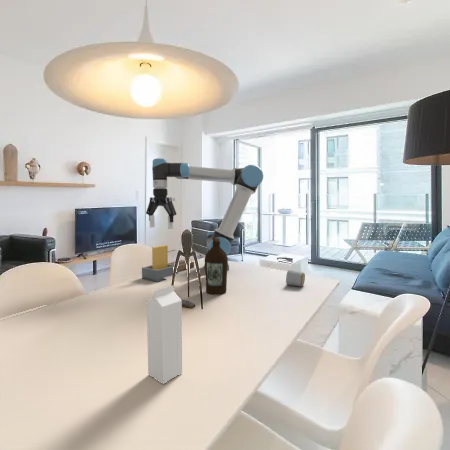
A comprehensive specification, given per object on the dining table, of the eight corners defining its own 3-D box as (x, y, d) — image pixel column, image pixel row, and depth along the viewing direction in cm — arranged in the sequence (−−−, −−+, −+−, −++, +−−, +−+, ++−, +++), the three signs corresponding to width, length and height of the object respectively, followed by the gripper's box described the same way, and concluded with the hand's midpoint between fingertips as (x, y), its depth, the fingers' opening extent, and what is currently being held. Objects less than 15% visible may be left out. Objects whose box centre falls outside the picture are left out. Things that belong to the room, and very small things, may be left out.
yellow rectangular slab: (167, 274, 168) (167, 245, 166) (155, 277, 160) (155, 247, 159) (164, 273, 169) (164, 245, 167) (152, 277, 161) (152, 247, 160)
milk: (182, 374, 75) (182, 287, 73) (163, 385, 71) (162, 293, 69) (166, 365, 79) (166, 282, 77) (147, 375, 75) (146, 288, 72)
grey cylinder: (302, 288, 146) (302, 272, 145) (285, 286, 149) (285, 270, 149) (306, 283, 156) (306, 268, 155) (290, 281, 159) (290, 266, 158)
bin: (178, 276, 167) (177, 265, 167) (157, 282, 155) (157, 270, 155) (162, 272, 174) (162, 262, 174) (142, 278, 162) (141, 267, 161)
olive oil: (207, 287, 146) (207, 236, 144) (229, 289, 145) (229, 237, 142) (202, 295, 136) (202, 239, 133) (225, 296, 134) (226, 240, 132)
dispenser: (194, 270, 181) (194, 260, 181) (177, 275, 170) (177, 265, 169) (181, 267, 187) (181, 258, 186) (165, 272, 175) (165, 262, 175)
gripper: (138, 188, 165) (139, 227, 167) (172, 187, 151) (173, 229, 153) (149, 188, 171) (150, 226, 173) (182, 188, 158) (183, 228, 160)
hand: (161, 228), depth 163 cm, fingers open, 13 cm apart
